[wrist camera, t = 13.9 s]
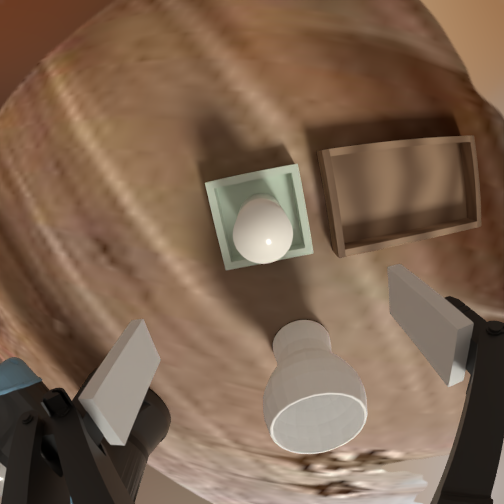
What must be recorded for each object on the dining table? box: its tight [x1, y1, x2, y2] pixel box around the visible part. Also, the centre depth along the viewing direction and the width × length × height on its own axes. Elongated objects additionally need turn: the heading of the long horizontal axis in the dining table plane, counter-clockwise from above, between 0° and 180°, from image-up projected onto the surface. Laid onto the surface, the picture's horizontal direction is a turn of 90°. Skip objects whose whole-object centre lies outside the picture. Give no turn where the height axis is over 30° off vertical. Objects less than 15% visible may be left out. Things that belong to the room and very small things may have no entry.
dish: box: [205, 164, 313, 270], centre depth 33 cm, size 10×10×2 cm
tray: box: [316, 136, 481, 258], centre depth 32 cm, size 21×12×3 cm, turn 102°
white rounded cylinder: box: [233, 193, 293, 264], centre depth 29 cm, size 5×5×10 cm
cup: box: [263, 320, 367, 454], centre depth 32 cm, size 11×11×15 cm
